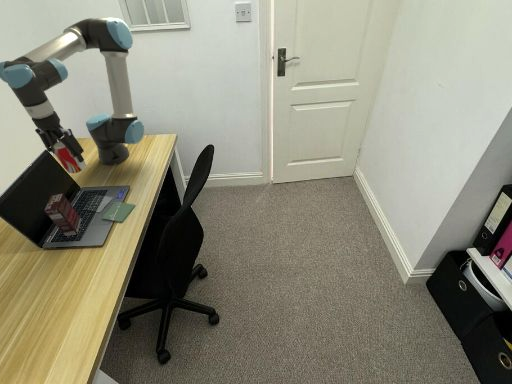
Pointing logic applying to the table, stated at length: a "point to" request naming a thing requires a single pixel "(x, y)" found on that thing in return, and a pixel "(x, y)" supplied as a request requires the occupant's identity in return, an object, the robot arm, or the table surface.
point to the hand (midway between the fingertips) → (75, 166)
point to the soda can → (66, 158)
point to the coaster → (119, 211)
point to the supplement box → (63, 214)
